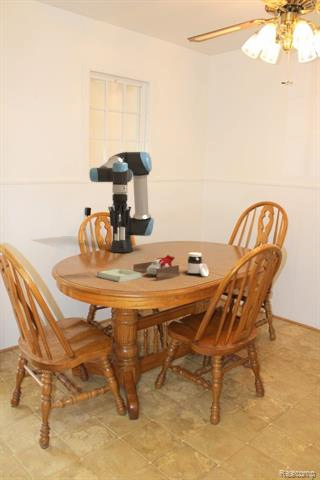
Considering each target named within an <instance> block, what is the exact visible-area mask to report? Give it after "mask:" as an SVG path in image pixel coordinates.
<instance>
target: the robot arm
mask: <svg viewBox="0 0 320 480" xmlns="http://www.w3.org/2000/svg"><path fill="white" fill-rule="evenodd" d="M151 158H152V157H151V154H149V152H146V151H145V152H144V151H123V152H119V153H117V154H116V153H115V154H113V155H112V156H110V157H109V158H108V160H107V161H106V162H104V164H102V165H101V166H99V167H91V168H90V169H89V172H88V173H89V174H88V175H89V180H90V182H92V183H94V182H95V183H112V190H111V191H112V193H113V194H112V195H111V196H112V198H111V199H112V205H111V206H108V207H107V208H108V211H109V225H110V227H112V240H111V244H110V247H109V251H110V252H112V253H131V252H134V247H133V243H132V240H131V236H136V237H137V236H140V237H141V236H142V237H148V236H151V235H152V233H153V229H154V221H155V220H154V218H153V217H152V215H151V213H149V197H148V195H149V194H148V191H149V190H148V177H149V176H150V172H152V171H153V169H152V167H153V164H152V159H151ZM132 180H133V181H132ZM131 181H132V182H133V198H134V200H133V201H134V214H133V215H132V217H131V210H132V206H129V205H128V203H127V202H128V187H129V186H128V183H130V182H131Z"/></svg>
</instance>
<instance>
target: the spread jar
mask: <svg viewBox="0 0 320 480" xmlns="http://www.w3.org/2000/svg"><path fill="white" fill-rule="evenodd" d="M202 256H203V255H202V253H201V252H188V258H187V275H189V276H202V277H204V278H205V277H208V276H209V268H208V265H207V264H206V263H203V258H202Z"/></svg>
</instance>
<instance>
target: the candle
mask: <svg viewBox="0 0 320 480" xmlns="http://www.w3.org/2000/svg"><path fill="white" fill-rule="evenodd" d="M174 260H175V256H172V255H170V254H167V255H166V256H164V257H158V258H156V259H154V260H152V262H153V263H151V265H150V266H149V267H148V268H147V270H146V272H147V273H146V274H150V275H153V276H155V275H156V269H158V268H164V267H170V266H173V265H172V262H173V261H174Z"/></svg>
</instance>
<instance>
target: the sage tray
mask: <svg viewBox="0 0 320 480" xmlns="http://www.w3.org/2000/svg"><path fill="white" fill-rule="evenodd" d="M142 276H143V274H142V273H139V272H134V271H133V270H129V269H123V268H115V269H108V270H103V271H97V278H100V277H101V279H104V280H109V281H113V282H118V283H122V282H128V281H133V280H134V281H135V280H137V279H142V278H143V277H142Z"/></svg>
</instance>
